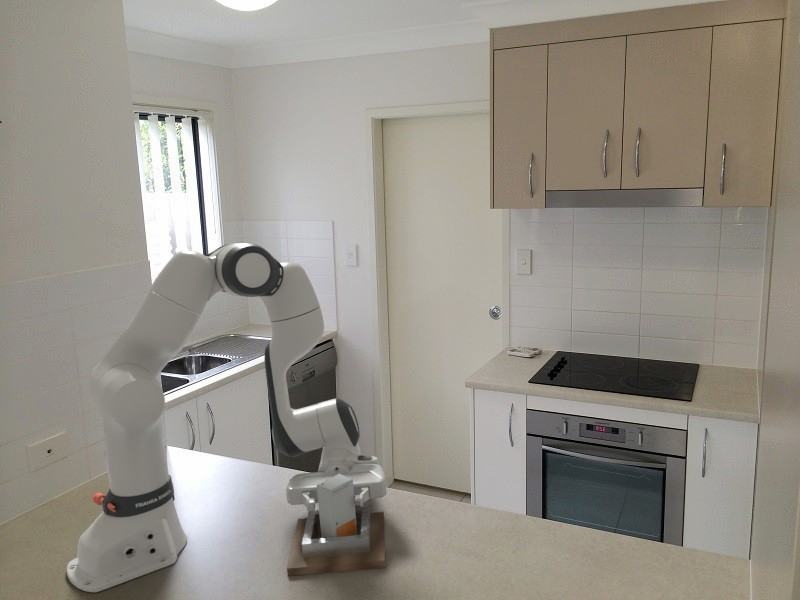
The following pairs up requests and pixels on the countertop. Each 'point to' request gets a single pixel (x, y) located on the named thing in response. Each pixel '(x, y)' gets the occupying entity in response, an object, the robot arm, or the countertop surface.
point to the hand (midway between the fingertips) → (334, 505)
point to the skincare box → (337, 507)
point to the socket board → (338, 545)
